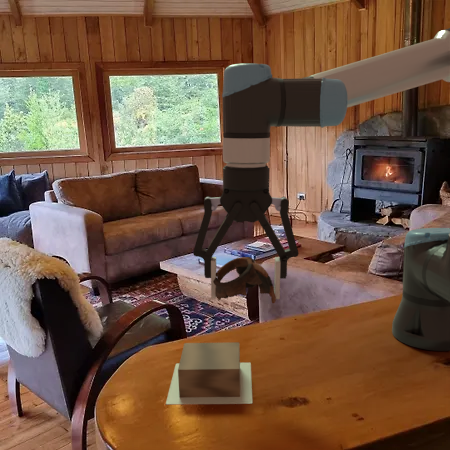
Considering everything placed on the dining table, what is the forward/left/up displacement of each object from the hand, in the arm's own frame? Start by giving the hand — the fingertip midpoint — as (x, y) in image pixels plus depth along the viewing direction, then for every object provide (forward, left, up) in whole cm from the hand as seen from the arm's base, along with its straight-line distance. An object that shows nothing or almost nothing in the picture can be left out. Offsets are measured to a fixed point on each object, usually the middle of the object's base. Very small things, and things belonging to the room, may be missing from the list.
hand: (245, 296), depth 89 cm
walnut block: (+6, +1, -15) cm, 16 cm away
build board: (+6, +1, -17) cm, 18 cm away
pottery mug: (0, +1, 0) cm, 1 cm away
